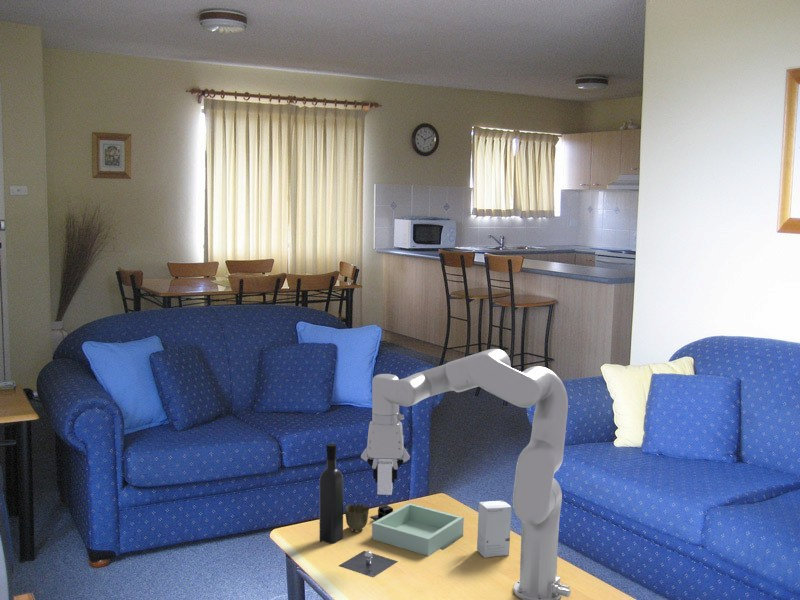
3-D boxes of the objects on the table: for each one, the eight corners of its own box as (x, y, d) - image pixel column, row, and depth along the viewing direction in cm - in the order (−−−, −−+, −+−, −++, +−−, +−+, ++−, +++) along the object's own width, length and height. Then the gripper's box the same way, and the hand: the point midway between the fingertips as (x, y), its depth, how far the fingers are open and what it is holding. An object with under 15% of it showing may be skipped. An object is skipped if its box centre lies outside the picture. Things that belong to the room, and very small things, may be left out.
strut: (392, 489, 235) (392, 459, 234) (391, 494, 231) (391, 463, 230) (378, 489, 235) (378, 458, 234) (377, 494, 231) (377, 463, 230)
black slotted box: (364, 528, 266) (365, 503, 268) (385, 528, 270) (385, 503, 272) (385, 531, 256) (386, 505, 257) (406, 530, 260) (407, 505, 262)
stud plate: (398, 564, 232) (398, 549, 231) (373, 580, 222) (373, 564, 221) (364, 554, 238) (364, 538, 238) (338, 569, 229) (338, 553, 228)
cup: (365, 538, 249) (365, 513, 248) (341, 536, 251) (342, 511, 250) (371, 528, 256) (371, 504, 255) (348, 526, 258) (348, 502, 257)
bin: (463, 536, 252) (463, 517, 251) (428, 559, 236) (428, 539, 235) (408, 520, 263) (409, 502, 262) (371, 542, 247) (372, 522, 246)
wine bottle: (329, 536, 250) (329, 440, 247) (344, 540, 247) (344, 444, 244) (317, 543, 245) (318, 445, 242) (333, 547, 243) (333, 448, 239)
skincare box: (484, 558, 237) (485, 509, 235) (476, 549, 242) (477, 501, 240) (510, 555, 239) (512, 506, 237) (502, 546, 245) (503, 498, 243)
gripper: (415, 415, 234) (415, 477, 236) (357, 414, 235) (357, 476, 237) (415, 422, 227) (414, 486, 229) (354, 421, 227) (354, 485, 230)
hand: (385, 480), depth 233 cm, fingers closed on strut, 4 cm apart
